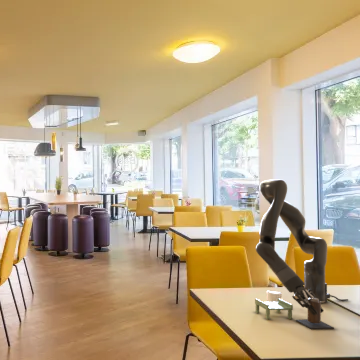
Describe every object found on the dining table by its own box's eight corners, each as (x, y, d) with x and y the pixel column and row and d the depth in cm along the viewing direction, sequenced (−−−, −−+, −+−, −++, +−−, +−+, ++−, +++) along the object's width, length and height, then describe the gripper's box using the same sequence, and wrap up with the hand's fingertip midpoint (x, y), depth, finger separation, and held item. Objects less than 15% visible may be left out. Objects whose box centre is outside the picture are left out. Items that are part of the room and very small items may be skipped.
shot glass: (283, 308, 191) (283, 294, 191) (268, 307, 192) (268, 293, 192) (279, 304, 197) (279, 290, 197) (264, 303, 199) (264, 289, 199)
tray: (279, 311, 185) (279, 298, 185) (292, 319, 175) (292, 304, 176) (254, 312, 185) (254, 298, 185) (267, 319, 175) (267, 305, 175)
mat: (317, 320, 174) (317, 319, 174) (334, 329, 164) (334, 327, 164) (295, 320, 173) (295, 319, 173) (311, 329, 163) (311, 327, 163)
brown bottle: (315, 319, 171) (315, 296, 171) (323, 323, 166) (323, 300, 167) (304, 319, 171) (305, 296, 171) (312, 323, 166) (312, 300, 166)
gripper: (288, 276, 171) (318, 311, 161) (303, 272, 179) (333, 306, 169) (275, 286, 175) (304, 320, 165) (291, 281, 183) (319, 314, 173)
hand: (318, 313), depth 167 cm, fingers closed on brown bottle, 5 cm apart
